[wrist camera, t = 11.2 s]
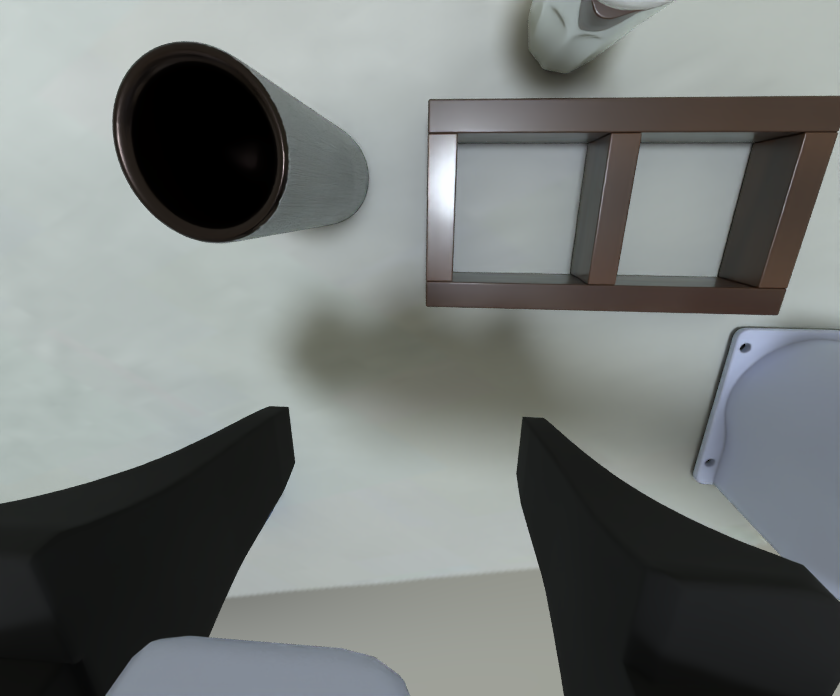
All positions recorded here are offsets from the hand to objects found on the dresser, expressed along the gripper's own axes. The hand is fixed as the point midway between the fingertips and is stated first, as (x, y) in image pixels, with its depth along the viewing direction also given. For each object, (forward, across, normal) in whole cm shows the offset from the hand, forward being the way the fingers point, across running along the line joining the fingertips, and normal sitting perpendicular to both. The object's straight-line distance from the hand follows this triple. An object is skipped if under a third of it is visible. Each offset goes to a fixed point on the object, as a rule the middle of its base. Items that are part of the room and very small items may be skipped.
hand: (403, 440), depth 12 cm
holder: (+10, -8, -6) cm, 15 cm away
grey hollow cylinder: (+11, +5, -8) cm, 14 cm away
